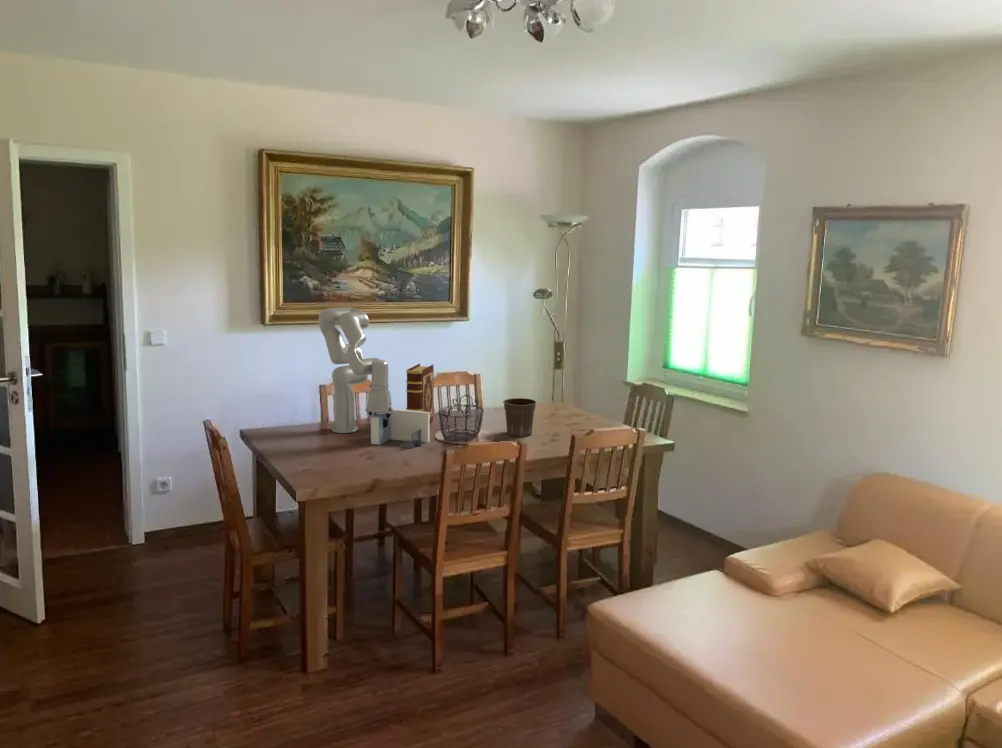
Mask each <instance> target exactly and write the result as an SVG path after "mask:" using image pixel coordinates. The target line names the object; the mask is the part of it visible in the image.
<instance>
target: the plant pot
mask: <svg viewBox="0 0 1002 748" xmlns="http://www.w3.org/2000/svg"><path fill="white" fill-rule="evenodd" d="M537 402H538V401H536V400H535V399H531V398H526V397H525V398H523V397H522V398H521V397H519V398H518V397H517V398H514V397H513V398H508V399H504V400H503V401H502V403H503V405H504V407H503V408H504V412H505V422H506V434H508V435H509V436H514V437H528V436H529V435H532V434H533V424H534V416H535V410H536V404H537Z"/></svg>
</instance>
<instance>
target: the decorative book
mask: <svg viewBox="0 0 1002 748" xmlns="http://www.w3.org/2000/svg"><path fill="white" fill-rule="evenodd" d="M434 375H435V374H434V363H433V364H431V365H429V366H423V365H422V366H421V363H418V364H416V365H414V366H412V367H410V368H408V369H406V381H405V383H406V390H405V391H406V409H405V410H410V411H422V412H430V424H432V423H433V421H434V381H435V379H434Z"/></svg>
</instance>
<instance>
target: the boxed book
mask: <svg viewBox="0 0 1002 748" xmlns="http://www.w3.org/2000/svg"><path fill="white" fill-rule="evenodd" d="M389 413H390V412H388V414H389ZM383 419H384V415H383V413H377V414H374V415H372V416H370V445H378V446H381V445H382V444H384V443H386V442H387V441H390V440H391V439H390V417H389V418H388V426H387V427H385V428H384V427H383Z"/></svg>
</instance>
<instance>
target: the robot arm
mask: <svg viewBox="0 0 1002 748" xmlns="http://www.w3.org/2000/svg"><path fill="white" fill-rule="evenodd" d="M369 325H370V319H369V317H368V315H367V314H366V312H364V311H363V310H360V309H357V308H354V307H350V306H349V307H348V306H346V307H345V306H344V307H331V308H325V309H323V310H321V311H320V313H319V315H318V326H319V329H320V332H321V333H322V336H323V337H324V340H325V344H326V347H327V352H328V355H329V358H330V362H331V363H332V364H334V365H341V366H337V367H336V368H334V370H333V371H332V373H331V379H332V382H333V392H334V394H333V395H334V420H328V423H327V425H328V426H332V428H331V431H332V432H333V433H336V434H350V433H355V432H358V431H359V427H358V426H357V425H356V418H355V417H356V408H355V407H356V404H355V403H356V402H355V401H356V399H355V397H356V396H355V392H354V390H353V389H352V387H351V386H355V385H360V384H364V383H365V382H367V381H368V376H371V383H370V384H369V385H368V387H369V388H371V389H370V390H369V393H368V398H367V399H368V401H367V407H366V408H365V412H366V413H368V415H369V417H371V416H372V415H374V414H377V413H383V415H384V419H383V427H384V428H385V427H387V426H388V418H389V417H390V416H391V415H392V414H394V413H395V411H394V410H393V409H394V407H393V406H392V398H391V397H392V395H391V392H390V390H389V363H388V361H387V360H381V359H379V358H377V357H370V358H364V353H363V351H362V349H361V346H363V345H364V344H365V343H366V341H367V337H366V334H365V332H364V331H363V330H364V329H367V328H368V327H369ZM336 326H340V328H341V329H342V332H343V334H344V335H343V334H342V333H341V331H340V330H339V329H338V328H337V327H336ZM344 336H345V338H346V341H347V342H348V343H345V340H344V339H345V338H344ZM346 364H348V365H346ZM389 411H390V413H389V414H388V412H389Z"/></svg>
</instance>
